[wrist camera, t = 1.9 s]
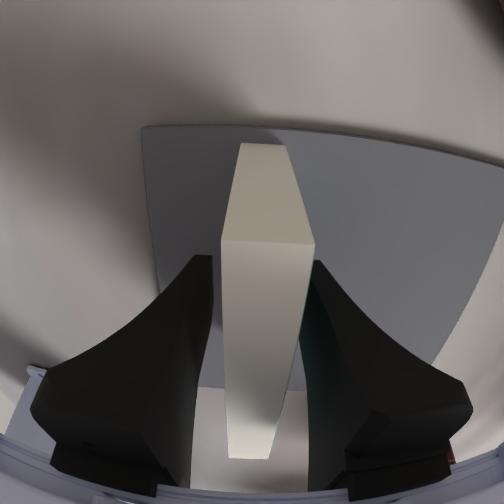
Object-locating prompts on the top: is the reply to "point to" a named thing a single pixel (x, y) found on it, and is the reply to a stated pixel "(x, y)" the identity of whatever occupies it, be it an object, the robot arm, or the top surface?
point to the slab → (262, 293)
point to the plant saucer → (501, 4)
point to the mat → (337, 223)
